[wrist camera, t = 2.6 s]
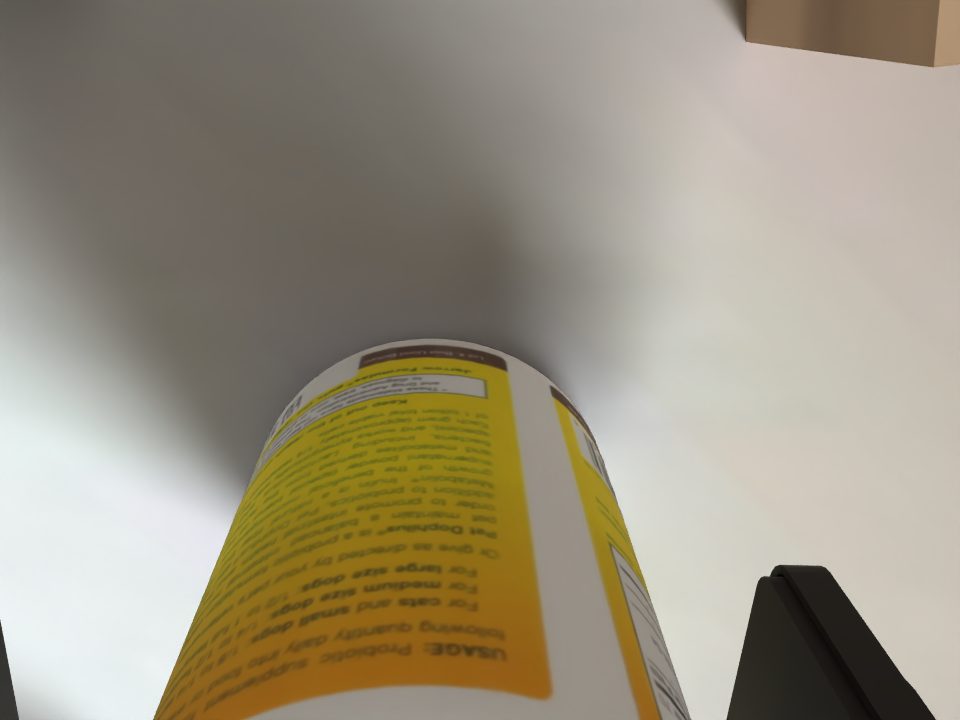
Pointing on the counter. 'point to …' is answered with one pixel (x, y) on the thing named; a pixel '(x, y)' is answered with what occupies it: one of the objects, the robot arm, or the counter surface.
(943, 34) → the walnut block
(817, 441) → the counter surface
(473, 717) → the supplement bottle
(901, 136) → the counter surface
